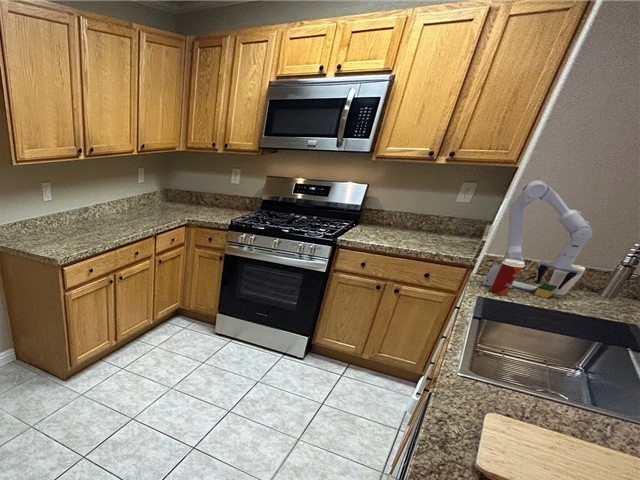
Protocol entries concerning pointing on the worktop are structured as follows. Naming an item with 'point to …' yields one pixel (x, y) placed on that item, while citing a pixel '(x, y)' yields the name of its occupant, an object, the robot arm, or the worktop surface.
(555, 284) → the cup
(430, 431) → the worktop surface
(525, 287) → the cloth
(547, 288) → the scrubber
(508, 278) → the paper cup
